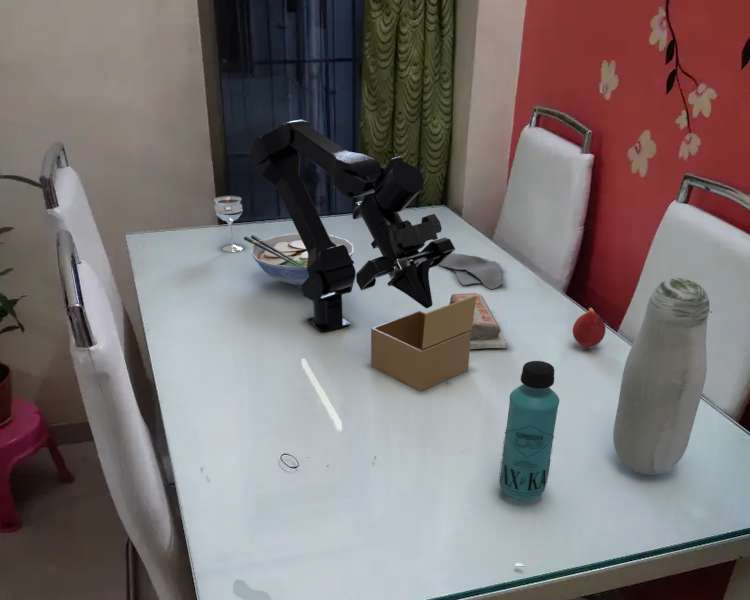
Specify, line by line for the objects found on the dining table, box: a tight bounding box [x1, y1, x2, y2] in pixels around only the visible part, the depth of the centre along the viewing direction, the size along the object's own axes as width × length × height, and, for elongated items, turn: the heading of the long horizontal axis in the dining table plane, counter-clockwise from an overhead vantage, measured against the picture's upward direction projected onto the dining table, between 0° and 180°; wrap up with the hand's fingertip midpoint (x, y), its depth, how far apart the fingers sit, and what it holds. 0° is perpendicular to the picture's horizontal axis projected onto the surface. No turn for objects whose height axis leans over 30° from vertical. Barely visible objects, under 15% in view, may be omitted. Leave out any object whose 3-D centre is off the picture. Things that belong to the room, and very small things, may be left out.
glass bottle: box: [612, 277, 710, 476], centre depth 106 cm, size 10×10×28 cm
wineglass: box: [213, 195, 244, 253], centre depth 192 cm, size 7×7×12 cm
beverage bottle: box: [498, 360, 560, 501], centre depth 103 cm, size 6×7×20 cm
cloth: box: [438, 252, 503, 290], centre depth 182 cm, size 26×14×2 cm, turn 20°
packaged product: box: [448, 292, 509, 350], centre depth 152 cm, size 18×5×10 cm
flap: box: [422, 295, 476, 349], centre depth 130 cm, size 6×12×1 cm
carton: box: [370, 310, 471, 392], centre depth 138 cm, size 13×12×7 cm
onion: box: [572, 307, 607, 350], centre depth 145 cm, size 6×6×8 cm
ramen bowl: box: [243, 232, 354, 287], centre depth 174 cm, size 25×23×8 cm
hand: (429, 306), depth 132 cm, fingers closed
